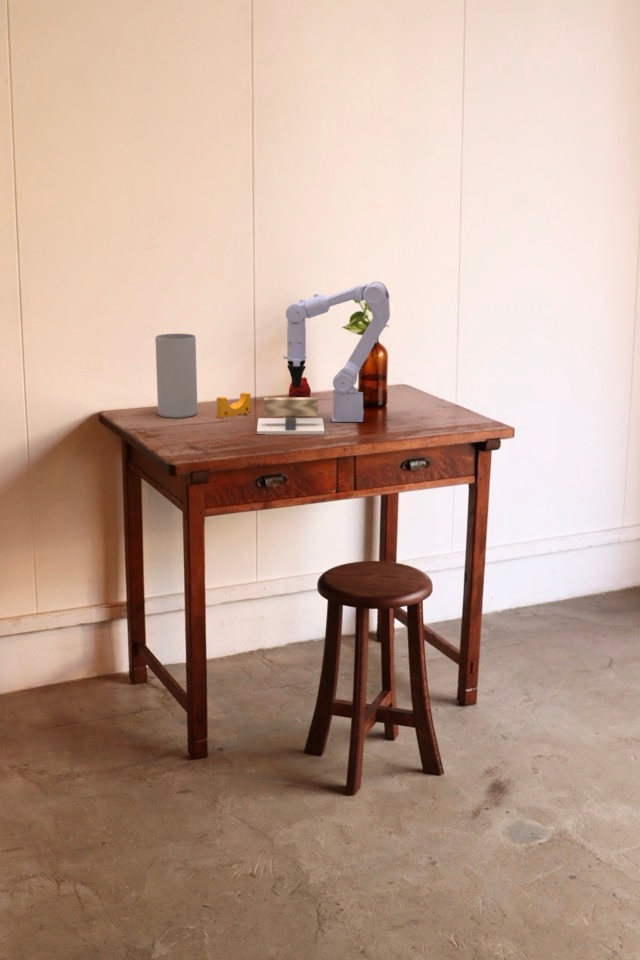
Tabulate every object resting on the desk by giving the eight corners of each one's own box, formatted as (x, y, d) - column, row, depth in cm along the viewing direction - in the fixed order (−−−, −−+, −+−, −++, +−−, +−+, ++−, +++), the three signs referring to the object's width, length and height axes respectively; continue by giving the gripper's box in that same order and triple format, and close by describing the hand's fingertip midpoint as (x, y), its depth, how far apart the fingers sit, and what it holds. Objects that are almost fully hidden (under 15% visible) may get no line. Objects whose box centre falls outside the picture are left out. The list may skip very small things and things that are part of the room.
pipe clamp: (241, 411, 375) (241, 391, 374) (250, 413, 373) (250, 393, 371) (213, 416, 367) (213, 396, 365) (222, 418, 364) (222, 398, 363)
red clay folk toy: (313, 401, 390) (313, 357, 386) (305, 405, 383) (305, 360, 380) (293, 400, 393) (292, 356, 389) (284, 403, 386) (284, 359, 382)
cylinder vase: (197, 409, 376) (195, 333, 370) (197, 418, 364) (195, 339, 358) (158, 410, 375) (155, 333, 368) (157, 418, 363) (155, 339, 356)
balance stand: (322, 421, 360) (322, 408, 359) (324, 434, 343) (324, 421, 342) (258, 421, 360) (258, 408, 359) (256, 434, 342) (256, 421, 341)
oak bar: (317, 413, 352) (317, 397, 351) (317, 415, 349) (317, 399, 347) (264, 413, 352) (264, 397, 350) (264, 416, 348) (264, 399, 347)
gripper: (283, 338, 365) (283, 381, 369) (283, 345, 351) (283, 389, 355) (305, 338, 366) (305, 381, 369) (306, 345, 352) (306, 389, 355)
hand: (296, 385), depth 362 cm, fingers open, 7 cm apart
